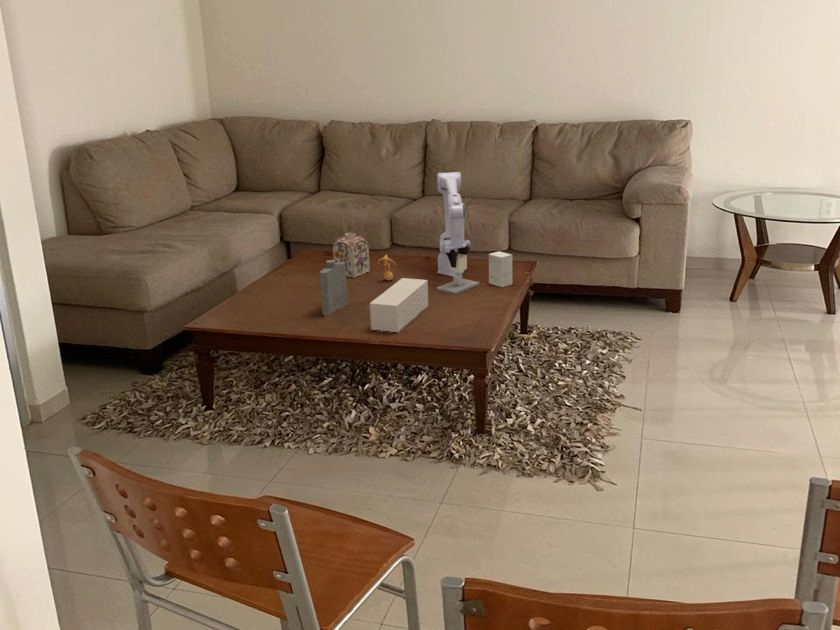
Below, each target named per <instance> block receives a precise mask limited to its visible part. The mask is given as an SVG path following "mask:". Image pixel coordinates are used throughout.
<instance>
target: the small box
mask: <svg viewBox="0 0 840 630" xmlns="http://www.w3.org/2000/svg"><path fill="white" fill-rule="evenodd" d="M488 284H490V285H492V286H493V285H494V286H496V287H499V288H504V287H508V286H511V285H513V254H511V253H507V252H504V251H503V252H502V251H501V250H500V251H495V252H491V253H488Z"/></svg>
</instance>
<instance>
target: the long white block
mask: <svg viewBox="0 0 840 630" xmlns="http://www.w3.org/2000/svg"><path fill="white" fill-rule="evenodd" d="M428 281H429V280H428V279H417V278H407V277H406V278H405V277H401V278H400V279H399V280H397V281H396V282H395V283H394V284H393V285H392V286H390V287H389V288H387V289H386V290H385V291H384V292H382V293H381V294H380V295H378V296H377V297H375V299H373V300H371V302H369V313H370V314H369V315H370V316H369V319H370V328H371V329H372V330H381V331H380V332H382V331H390V332H389V333H391V332H399V331H400V330H401V329H402V328H403V327H404V326H405V325H407V324H408V323H409V322H410V321H411V320H412V319H413V320H414V319H415V318H416V317H417V316H419V315H420V314H421V313H422V312H423V311H425V309H427V307H429V286H428V285H429V284H428ZM422 310H423V311H422ZM421 311H422V312H421ZM420 312H421V313H420ZM419 313H420V314H419ZM418 314H419V315H418ZM413 320H412V321H413ZM412 321H411V322H412ZM411 322H410V323H411ZM410 323H409V324H410ZM409 324H408V325H409ZM408 325H407V326H408ZM405 327H406V326H405ZM405 327H404V328H405ZM404 328H403V329H404ZM371 329H370V330H371ZM403 329H402V330H403ZM372 330H371V331H372ZM402 330H401V331H402ZM401 331H400V332H401ZM400 332H399V333H400Z"/></svg>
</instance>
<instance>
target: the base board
mask: <svg viewBox="0 0 840 630" xmlns="http://www.w3.org/2000/svg"><path fill="white" fill-rule="evenodd" d="M462 283H463V285H461V286H455V285H454V280H453V281H450V282H447V283H445V284H443V285H439V286H437V287H436V290H437V291H439V290H440V292H444V293H448V294H452V295H457V294H460V293H463V292H465V291H468V290H470V289H472V288H475V287H476V286H477V287H478V286H479V285H480V282H479V281H475V280H471V279H465V278H462ZM474 286H475V287H474ZM469 288H470V289H469Z"/></svg>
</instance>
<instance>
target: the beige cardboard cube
mask: <svg viewBox="0 0 840 630" xmlns="http://www.w3.org/2000/svg"><path fill="white" fill-rule="evenodd" d="M467 257H468V254H467V255H464V254H459V253H458V255H457V260H456V268H453V267H451V265H450V261H449V270H452V271H457V272H460V271H465V270H467V269H468V263H467V261H468V260H467V259H468V258H467Z"/></svg>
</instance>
